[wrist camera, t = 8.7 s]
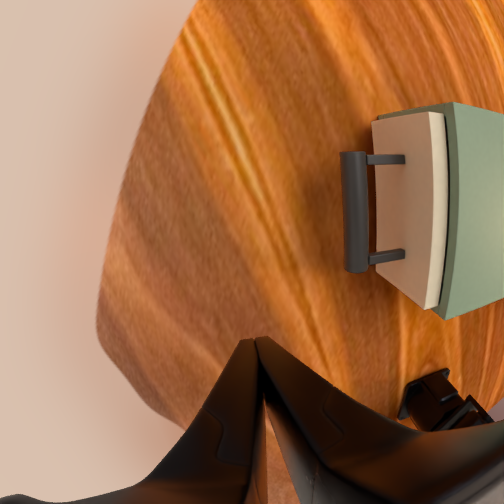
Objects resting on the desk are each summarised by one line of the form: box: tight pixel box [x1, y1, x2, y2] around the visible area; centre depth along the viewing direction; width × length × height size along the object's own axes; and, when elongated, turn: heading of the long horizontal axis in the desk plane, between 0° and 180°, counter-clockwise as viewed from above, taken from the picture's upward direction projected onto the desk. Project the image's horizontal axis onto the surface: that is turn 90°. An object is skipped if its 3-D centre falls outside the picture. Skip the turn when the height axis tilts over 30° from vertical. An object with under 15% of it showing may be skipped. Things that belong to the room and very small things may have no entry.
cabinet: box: [378, 102, 504, 320], centre depth 18 cm, size 15×13×9 cm
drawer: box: [339, 112, 450, 310], centre depth 17 cm, size 18×11×7 cm, turn 96°
